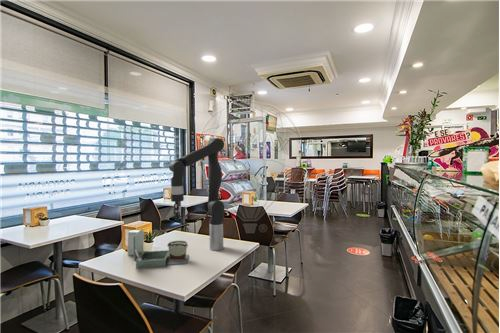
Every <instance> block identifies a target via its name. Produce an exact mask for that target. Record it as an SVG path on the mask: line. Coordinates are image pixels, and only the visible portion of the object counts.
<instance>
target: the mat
mask: <svg viewBox="0 0 500 333" xmlns="http://www.w3.org/2000/svg"><path fill="white" fill-rule="evenodd" d="M189 256H190V254H186V260H170V258H169V260H168V262H167V265H166V266H176V265H179V266H180V265H187V263H188V260H189Z"/></svg>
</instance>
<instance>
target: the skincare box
mask: <svg viewBox="0 0 500 333" xmlns="http://www.w3.org/2000/svg"><path fill="white" fill-rule="evenodd" d="M140 230H141V229H140ZM140 230H139V229H138V230H137V229H136V230H135V229H133V230H132V229H131V230H130V231H128V233H127V256H134V236H135V235H136V234H137V233H138V232H139V231H140ZM144 234H145V232H144V229H143V241H145V240H144V237H145V235H144ZM143 252H144V251H143ZM143 252H142V253H143Z"/></svg>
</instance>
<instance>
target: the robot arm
mask: <svg viewBox="0 0 500 333" xmlns="http://www.w3.org/2000/svg"><path fill="white" fill-rule="evenodd" d="M224 147H225V142H224V140H223V139H221V138H218V137H215V138H210V139H209V140H208V141H207V144H206V146H203V147H201V148H199V149H196V150H193V151H191V152H189V153H188V154H185V155H184V156H182V157H180V158H177V159H174V160H172V161H171V162H170V163H169V165H168V169H169V171H171V172H172V177H171V179H170V201H171V202H174V204H173V214H174V220H175V222H179V221H180V218H181V212H182V202H183V201H184V197H185V194H184V181H183V179H184V174H185V168H186V167H190V166H192V165H194V164H195V163H197V162H199V161H200V160H203V159H204V158H206V157H207V159H208V160H207V163H208V169H207V170H208V171H207V172H208V174H207V176H208V178H207V179H208V180H207V181H208V198H207V209H208V211H209V212H210V213H211V218H210V219H209V222H208V223H209V250H210V251H221V250H224V219H225V204H224V202H223V201H221V200H220V198H219V196H220V194H219V192H220V188H221V185H222V181H223V180H222V179H223V172H222V168H221V165H220V162H219V157H218V156H219V155H218V153H219V152H221V151H222V150H223V149H224Z"/></svg>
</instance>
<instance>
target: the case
mask: <svg viewBox="0 0 500 333" xmlns="http://www.w3.org/2000/svg"><path fill="white" fill-rule="evenodd" d="M143 230H144V229H143V228H141V229H140V231H139V232H138V233H137V234H136V235H135V236H134V255H133V262H135V269H149V268H150V269H151V268H165V267H166V266H168V265H167V263H168V261H169V259H170V256H169V249H168V250H167V249H166V250H151V251H150V250H149V251H144V240H143ZM142 252H143V253H142ZM162 257H164V258H162Z"/></svg>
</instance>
